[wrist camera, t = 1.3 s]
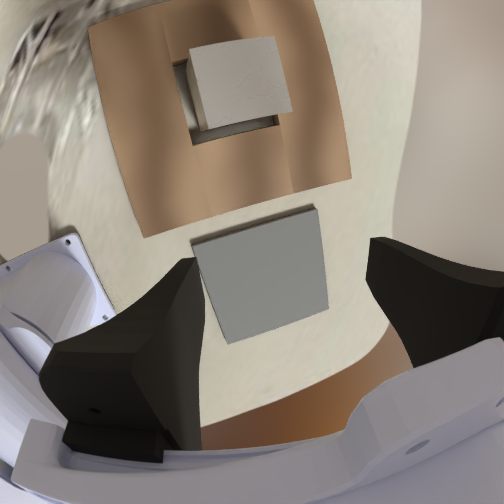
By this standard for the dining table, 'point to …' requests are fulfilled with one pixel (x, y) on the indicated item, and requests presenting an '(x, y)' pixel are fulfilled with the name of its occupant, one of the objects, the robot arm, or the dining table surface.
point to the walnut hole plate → (225, 148)
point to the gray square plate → (265, 274)
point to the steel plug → (237, 81)
